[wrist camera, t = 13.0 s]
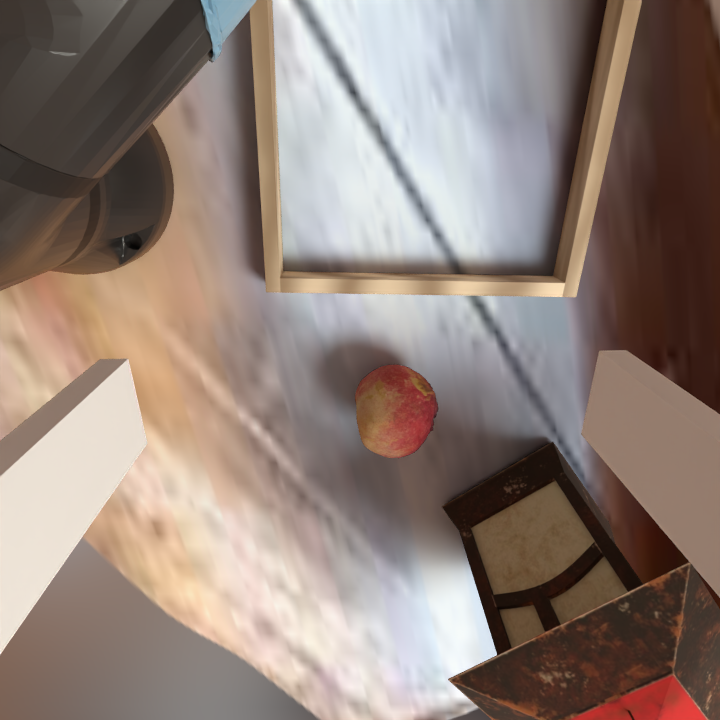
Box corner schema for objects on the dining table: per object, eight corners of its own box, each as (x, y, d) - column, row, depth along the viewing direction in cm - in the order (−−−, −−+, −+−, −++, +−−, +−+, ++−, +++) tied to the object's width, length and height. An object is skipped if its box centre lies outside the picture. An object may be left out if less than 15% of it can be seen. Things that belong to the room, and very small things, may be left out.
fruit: (362, 344, 44) (366, 383, 36) (439, 361, 45) (458, 402, 37) (343, 414, 47) (343, 462, 39) (416, 428, 48) (429, 478, 40)
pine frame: (270, 284, 41) (266, 292, 39) (252, -54, 31) (245, -70, 29) (563, 289, 42) (576, 297, 40) (631, -36, 32) (653, -51, 30)
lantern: (694, 487, 52) (1085, 859, 25) (495, 590, 58) (633, 986, 30) (627, 369, 46) (1056, 694, 18) (412, 499, 51) (491, 895, 24)
